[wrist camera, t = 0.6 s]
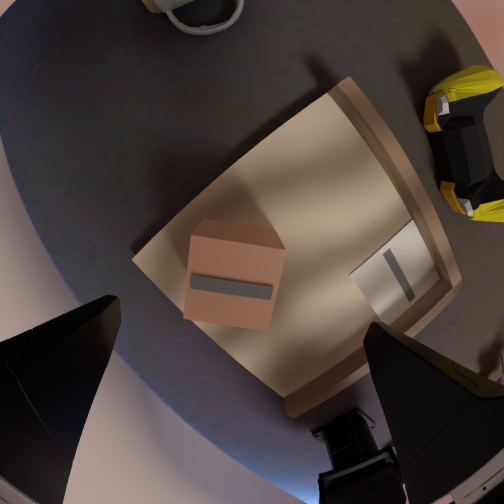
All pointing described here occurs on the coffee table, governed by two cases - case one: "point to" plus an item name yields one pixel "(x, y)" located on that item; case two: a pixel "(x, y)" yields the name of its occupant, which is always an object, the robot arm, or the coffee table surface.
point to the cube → (233, 274)
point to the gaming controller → (465, 142)
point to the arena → (322, 246)
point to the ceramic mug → (158, 3)
